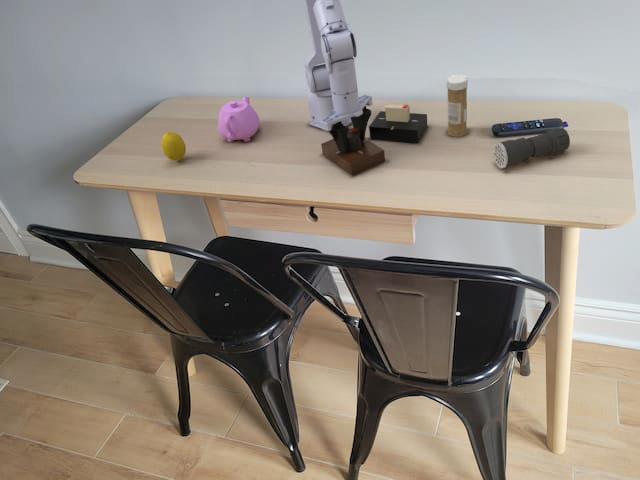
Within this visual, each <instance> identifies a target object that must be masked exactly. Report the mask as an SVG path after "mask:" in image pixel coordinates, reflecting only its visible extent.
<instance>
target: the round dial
mask: <svg viewBox="0 0 640 480" xmlns="http://www.w3.org/2000/svg"><path fill="white" fill-rule="evenodd" d="M347 144H348V151H356V150H358V149H360V148H361V137H360V131H359V129H358V128H356V129H355V128H353V127H351V128H350V127H349V129H348V134H347Z"/></svg>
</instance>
